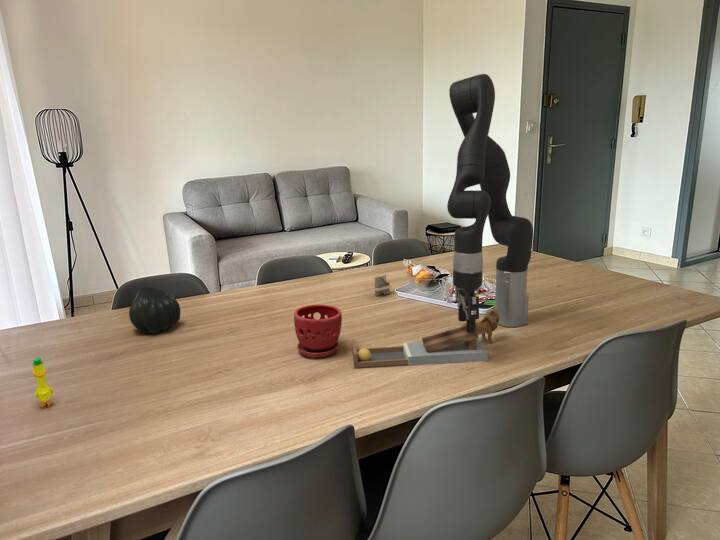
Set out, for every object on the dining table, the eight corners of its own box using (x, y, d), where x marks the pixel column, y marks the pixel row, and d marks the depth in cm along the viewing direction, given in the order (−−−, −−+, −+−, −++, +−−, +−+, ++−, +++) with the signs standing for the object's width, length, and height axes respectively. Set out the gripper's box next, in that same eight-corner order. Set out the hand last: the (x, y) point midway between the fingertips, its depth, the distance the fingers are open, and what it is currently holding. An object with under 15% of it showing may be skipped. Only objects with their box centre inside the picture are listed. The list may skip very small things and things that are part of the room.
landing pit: (403, 351, 150) (402, 338, 149) (408, 365, 142) (407, 351, 141) (352, 354, 149) (351, 340, 148) (354, 368, 141) (353, 354, 140)
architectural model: (392, 295, 201) (392, 276, 199) (378, 299, 196) (378, 280, 194) (386, 293, 203) (386, 274, 201) (372, 297, 199) (371, 278, 197)
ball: (369, 344, 144) (357, 346, 145) (365, 352, 141) (353, 355, 142) (374, 355, 145) (362, 357, 146) (371, 363, 142) (359, 365, 143)
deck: (477, 347, 152) (477, 339, 151) (487, 360, 143) (487, 352, 142) (403, 351, 150) (402, 343, 150) (408, 365, 142) (407, 356, 141)
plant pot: (306, 365, 144) (304, 322, 141) (289, 348, 155) (286, 308, 152) (351, 354, 150) (349, 313, 146) (331, 339, 161) (329, 300, 158)
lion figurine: (491, 334, 160) (492, 305, 158) (503, 340, 155) (504, 311, 153) (450, 344, 154) (450, 314, 151) (461, 351, 149) (462, 320, 147)
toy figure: (35, 401, 129) (25, 355, 126) (52, 396, 131) (43, 350, 128) (39, 412, 124) (29, 364, 121) (57, 407, 126) (47, 360, 123)
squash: (192, 313, 171) (170, 274, 174) (146, 328, 160) (124, 286, 164) (179, 333, 180) (159, 295, 184) (136, 348, 170) (115, 308, 174)
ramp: (472, 341, 149) (473, 323, 148) (478, 350, 144) (478, 331, 142) (421, 344, 148) (421, 326, 147) (425, 353, 143) (425, 334, 142)
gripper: (447, 261, 147) (446, 318, 151) (460, 276, 133) (459, 337, 138) (474, 260, 148) (473, 316, 152) (490, 274, 134) (488, 335, 138)
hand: (466, 326), depth 145 cm, fingers open, 8 cm apart
